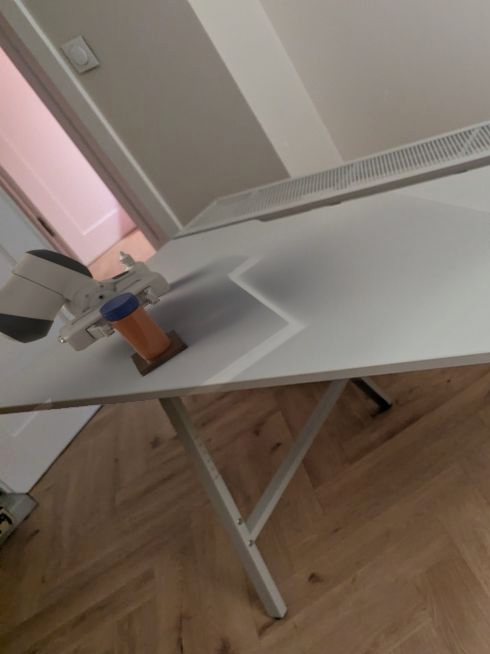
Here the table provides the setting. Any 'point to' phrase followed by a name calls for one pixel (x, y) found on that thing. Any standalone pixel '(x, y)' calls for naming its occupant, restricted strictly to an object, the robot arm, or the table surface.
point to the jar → (142, 333)
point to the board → (171, 351)
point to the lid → (119, 307)
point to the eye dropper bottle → (132, 263)
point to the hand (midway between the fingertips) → (132, 315)
